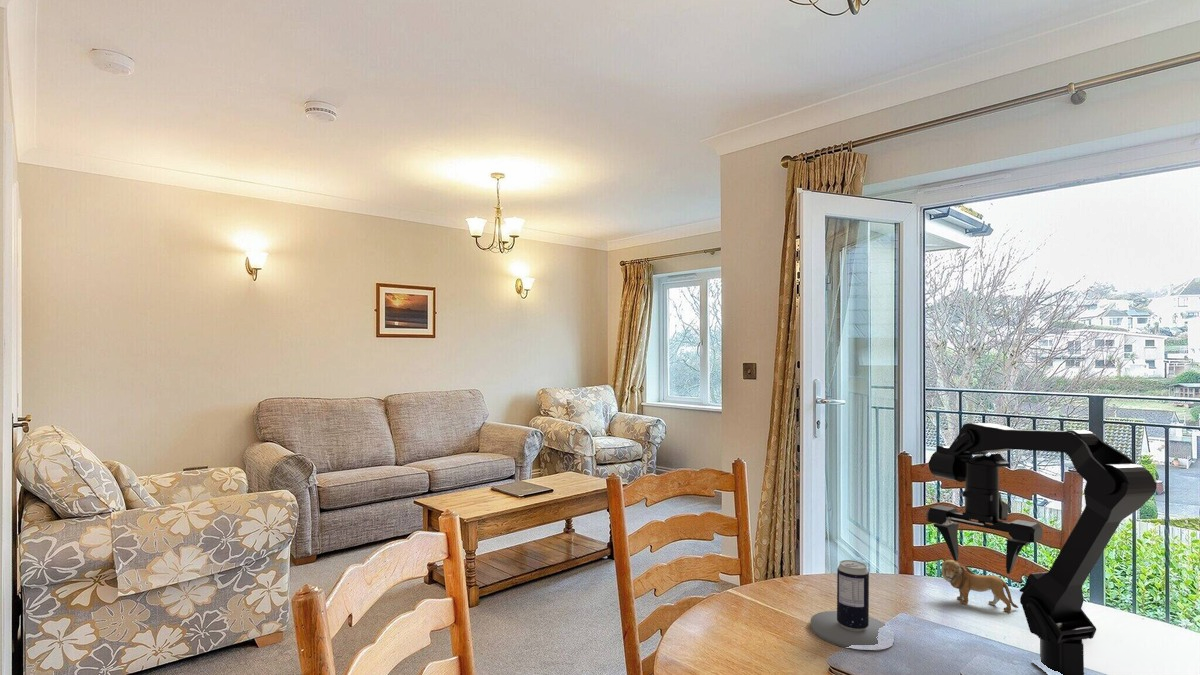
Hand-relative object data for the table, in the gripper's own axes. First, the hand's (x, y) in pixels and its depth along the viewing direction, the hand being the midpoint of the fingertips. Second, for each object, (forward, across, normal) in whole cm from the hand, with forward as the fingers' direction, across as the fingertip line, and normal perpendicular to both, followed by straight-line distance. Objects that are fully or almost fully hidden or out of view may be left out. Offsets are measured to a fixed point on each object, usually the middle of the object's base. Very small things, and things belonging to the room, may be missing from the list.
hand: (981, 566), depth 119 cm
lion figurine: (+13, +6, -16) cm, 22 cm away
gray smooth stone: (+13, +16, +20) cm, 29 cm away
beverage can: (+12, +16, +20) cm, 28 cm away
